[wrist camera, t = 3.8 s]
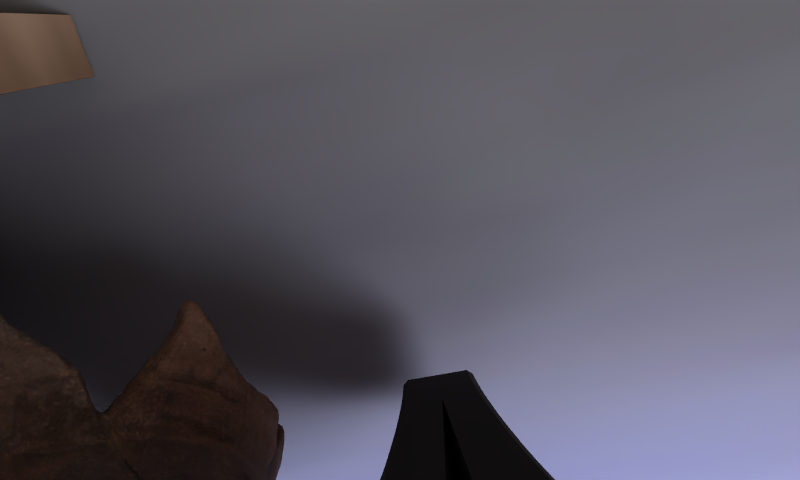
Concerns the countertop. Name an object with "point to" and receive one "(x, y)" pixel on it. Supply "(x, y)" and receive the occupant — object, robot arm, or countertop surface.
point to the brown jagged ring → (136, 414)
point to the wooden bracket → (39, 51)
